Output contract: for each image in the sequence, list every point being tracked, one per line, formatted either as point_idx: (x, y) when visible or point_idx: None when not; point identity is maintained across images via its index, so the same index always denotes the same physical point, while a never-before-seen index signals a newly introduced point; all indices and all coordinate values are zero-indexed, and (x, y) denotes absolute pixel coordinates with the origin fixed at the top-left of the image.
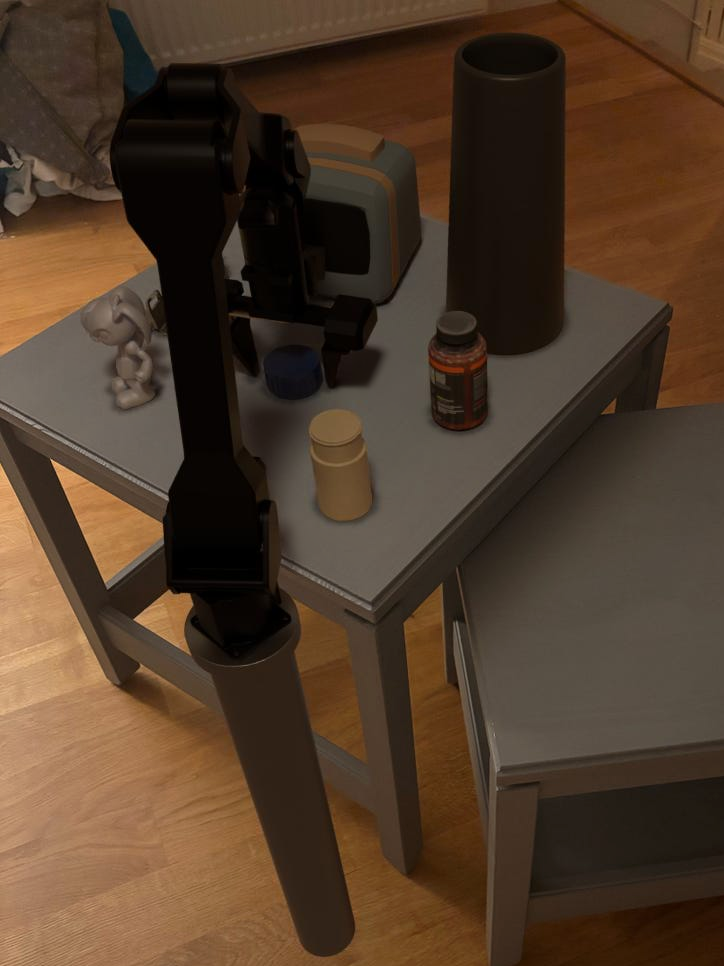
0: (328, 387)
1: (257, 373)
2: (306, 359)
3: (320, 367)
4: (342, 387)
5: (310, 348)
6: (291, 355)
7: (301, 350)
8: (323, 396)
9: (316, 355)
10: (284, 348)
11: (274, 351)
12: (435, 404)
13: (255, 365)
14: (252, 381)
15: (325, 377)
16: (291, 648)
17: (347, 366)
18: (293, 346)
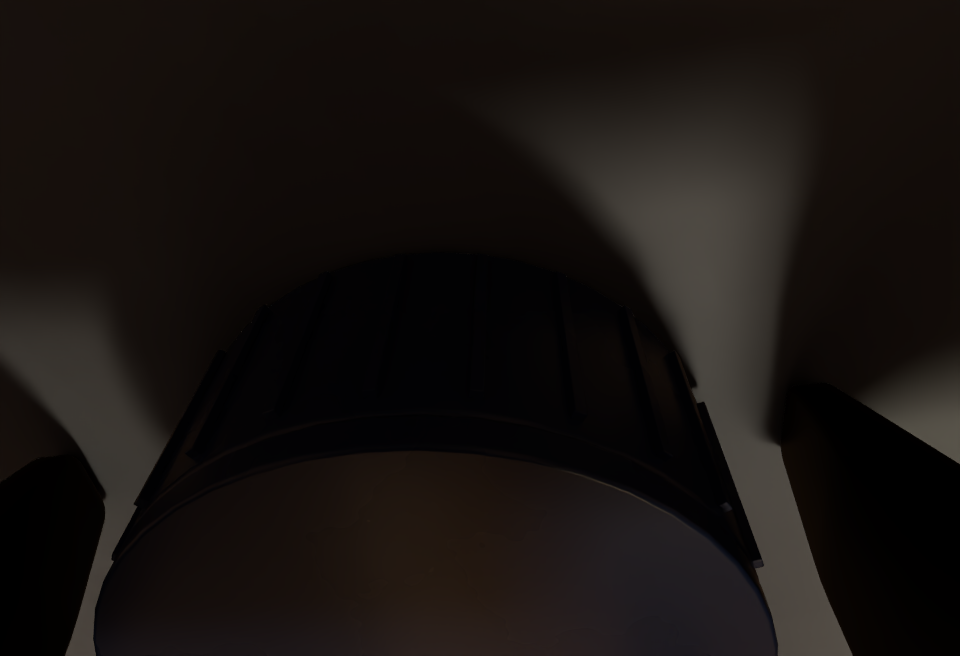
0: (786, 462)
1: (88, 493)
2: (604, 648)
3: (743, 526)
4: (912, 402)
5: (564, 485)
6: (386, 643)
7: (455, 544)
8: (760, 530)
9: (711, 575)
10: (211, 571)
11: (139, 633)
12: None
13: (44, 572)
14: (117, 537)
15: (852, 644)
16: None
17: (920, 76)
18: (293, 503)
